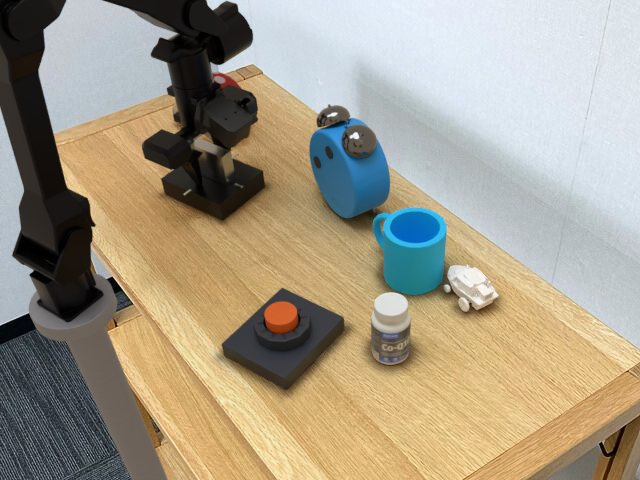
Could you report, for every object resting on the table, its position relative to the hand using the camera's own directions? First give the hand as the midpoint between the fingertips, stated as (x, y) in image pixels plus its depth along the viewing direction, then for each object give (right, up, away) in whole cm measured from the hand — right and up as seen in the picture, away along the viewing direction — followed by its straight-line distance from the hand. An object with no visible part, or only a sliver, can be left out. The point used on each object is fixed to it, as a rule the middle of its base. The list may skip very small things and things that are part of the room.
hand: (212, 174), depth 115 cm
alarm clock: (+21, -5, -1) cm, 22 cm away
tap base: (0, -2, +2) cm, 3 cm away
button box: (+13, -26, -19) cm, 35 cm away
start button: (+13, -23, -22) cm, 35 cm away
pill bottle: (+26, -27, -21) cm, 43 cm away
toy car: (+37, -20, -15) cm, 44 cm away
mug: (+28, -15, -11) cm, 34 cm away
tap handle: (0, 0, 0) cm, 0 cm away
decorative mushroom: (-2, +11, +14) cm, 18 cm away
